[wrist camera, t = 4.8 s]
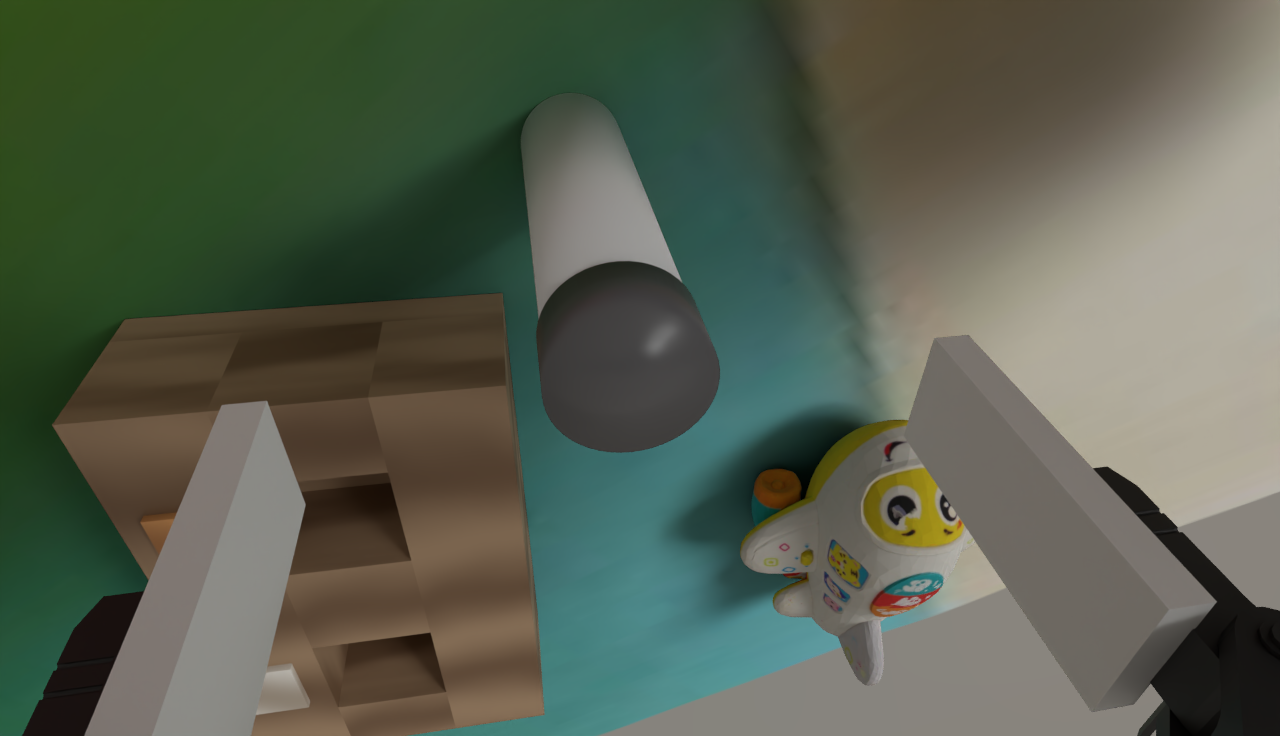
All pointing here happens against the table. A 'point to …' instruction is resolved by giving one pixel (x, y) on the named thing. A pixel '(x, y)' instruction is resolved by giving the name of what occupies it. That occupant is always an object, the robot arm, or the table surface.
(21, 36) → the table surface
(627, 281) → the plug
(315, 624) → the socket block
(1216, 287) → the table surface
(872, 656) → the toy airplane
